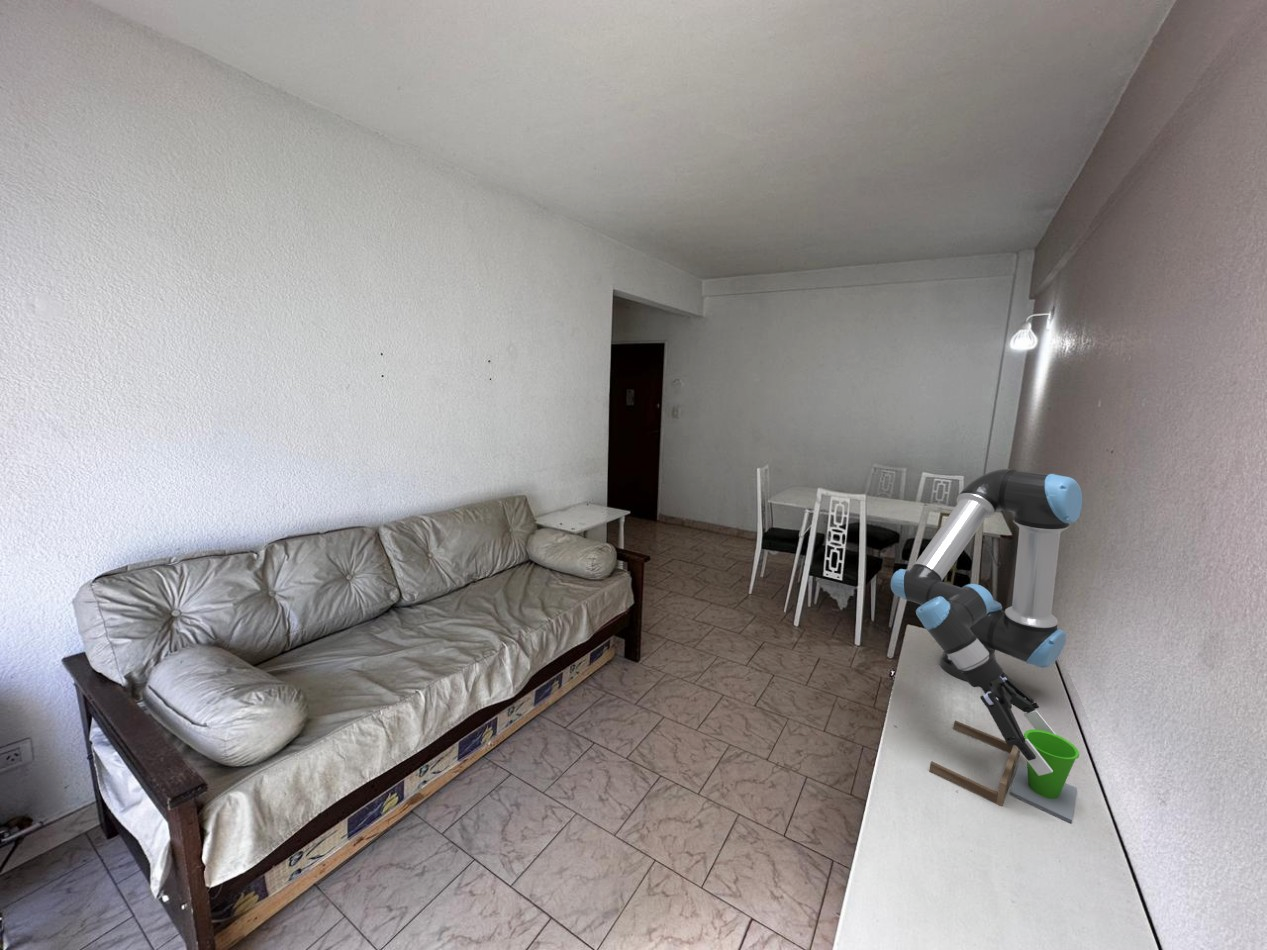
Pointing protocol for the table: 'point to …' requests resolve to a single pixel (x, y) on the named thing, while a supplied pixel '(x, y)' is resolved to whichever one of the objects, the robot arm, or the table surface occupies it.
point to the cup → (1051, 762)
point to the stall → (972, 785)
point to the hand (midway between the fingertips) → (1049, 756)
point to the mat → (1056, 806)
